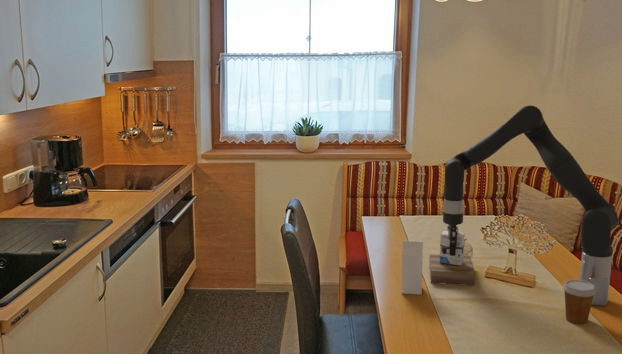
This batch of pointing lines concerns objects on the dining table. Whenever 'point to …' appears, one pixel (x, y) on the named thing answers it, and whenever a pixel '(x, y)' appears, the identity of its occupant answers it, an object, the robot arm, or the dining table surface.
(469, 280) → the walnut block
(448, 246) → the ink box
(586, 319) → the disposable coffee cup
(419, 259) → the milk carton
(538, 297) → the dining table surface
